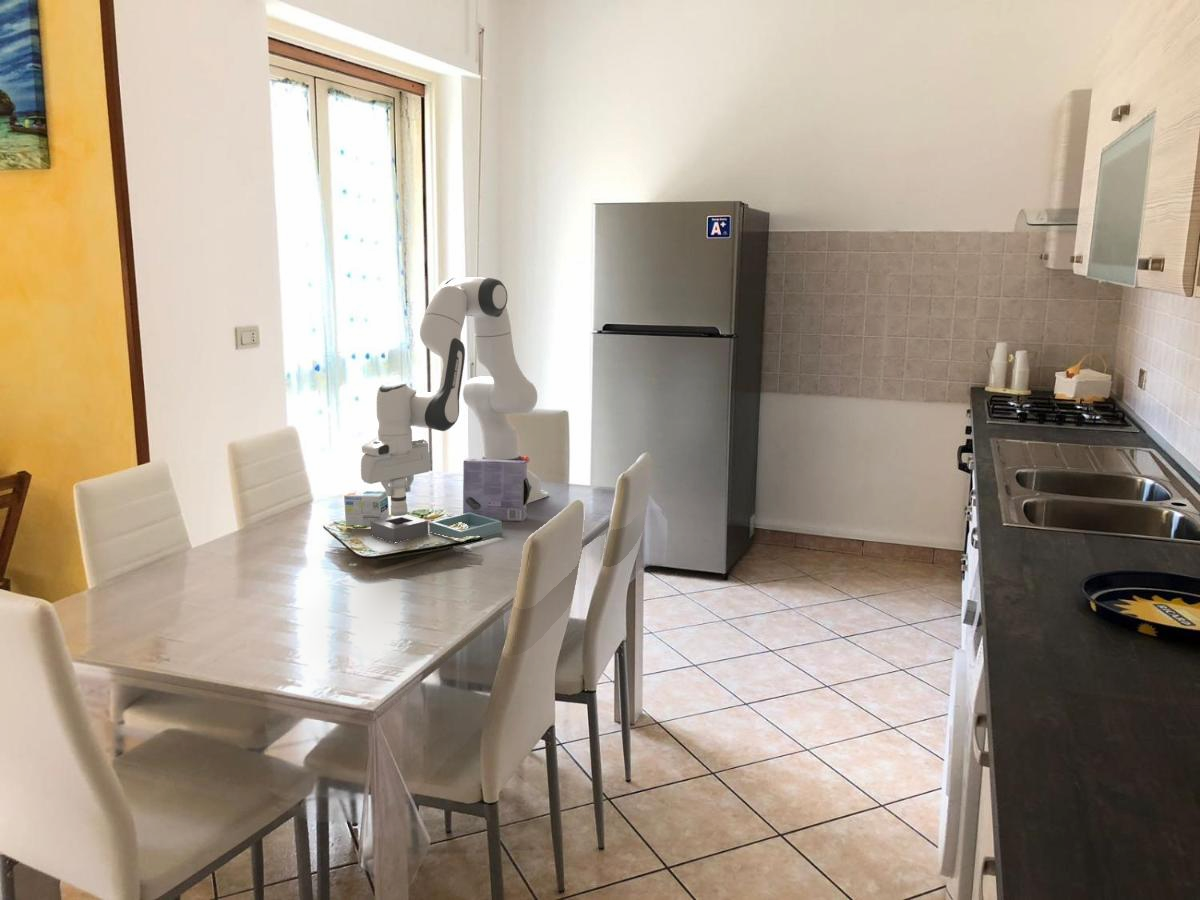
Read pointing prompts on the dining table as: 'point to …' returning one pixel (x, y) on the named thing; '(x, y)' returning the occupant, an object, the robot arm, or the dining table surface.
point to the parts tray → (474, 521)
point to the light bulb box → (365, 507)
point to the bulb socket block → (399, 528)
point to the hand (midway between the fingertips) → (398, 493)
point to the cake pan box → (495, 488)
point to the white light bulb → (398, 497)
